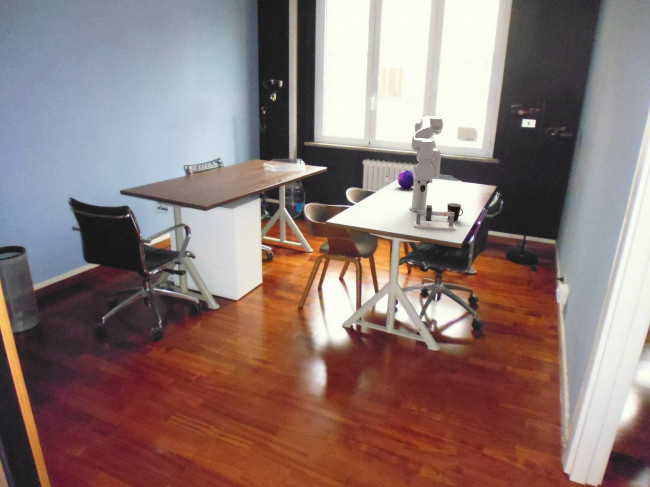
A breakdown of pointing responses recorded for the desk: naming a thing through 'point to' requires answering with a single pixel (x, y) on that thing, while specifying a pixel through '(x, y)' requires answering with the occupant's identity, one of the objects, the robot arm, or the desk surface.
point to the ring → (428, 212)
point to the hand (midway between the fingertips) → (422, 191)
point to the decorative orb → (406, 179)
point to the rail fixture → (435, 225)
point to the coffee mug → (454, 210)
